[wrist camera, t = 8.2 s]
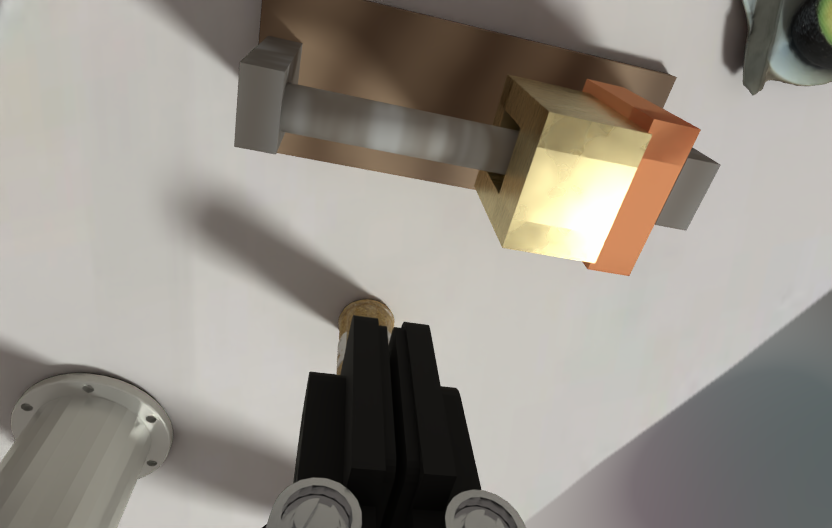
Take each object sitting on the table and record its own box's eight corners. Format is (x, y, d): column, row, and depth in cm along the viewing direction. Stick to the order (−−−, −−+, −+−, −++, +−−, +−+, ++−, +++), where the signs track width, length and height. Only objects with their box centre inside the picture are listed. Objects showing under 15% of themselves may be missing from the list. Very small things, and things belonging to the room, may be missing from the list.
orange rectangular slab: (574, 208, 36) (629, 276, 29) (541, 201, 36) (587, 269, 28) (623, 87, 32) (700, 129, 25) (586, 78, 32) (654, 118, 24)
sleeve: (548, 199, 34) (594, 263, 28) (474, 185, 34) (502, 247, 27) (589, 92, 31) (652, 134, 24) (507, 74, 30) (549, 111, 23)
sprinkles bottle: (326, 319, 44) (313, 454, 32) (368, 286, 42) (370, 415, 31) (365, 351, 45) (366, 489, 34) (406, 321, 44) (421, 454, 33)
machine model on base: (669, 74, 36) (757, 111, 28) (609, 210, 41) (670, 275, 32) (266, -24, 31) (232, -14, 23) (253, 143, 36) (220, 200, 28)
